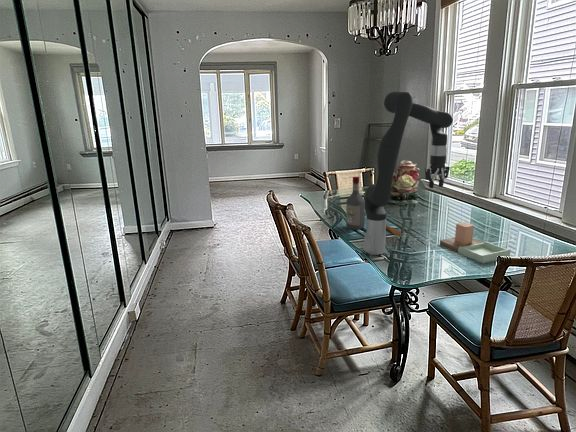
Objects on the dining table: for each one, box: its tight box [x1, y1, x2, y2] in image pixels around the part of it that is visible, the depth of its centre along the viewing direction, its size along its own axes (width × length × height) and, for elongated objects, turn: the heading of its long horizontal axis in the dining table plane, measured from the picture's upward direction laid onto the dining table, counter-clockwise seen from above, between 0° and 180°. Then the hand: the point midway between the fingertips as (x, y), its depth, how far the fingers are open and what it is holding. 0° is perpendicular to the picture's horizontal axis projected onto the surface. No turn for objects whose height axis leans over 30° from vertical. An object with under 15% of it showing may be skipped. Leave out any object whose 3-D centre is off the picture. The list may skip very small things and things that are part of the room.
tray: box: [457, 240, 511, 265], centre depth 177 cm, size 16×15×4 cm
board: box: [439, 236, 484, 254], centre depth 189 cm, size 16×12×2 cm
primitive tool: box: [386, 224, 404, 237], centre depth 216 cm, size 19×6×4 cm, turn 22°
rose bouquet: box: [387, 159, 422, 206], centre depth 276 cm, size 26×29×30 cm
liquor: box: [345, 176, 366, 231], centre depth 220 cm, size 9×9×30 cm
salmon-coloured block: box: [454, 222, 475, 245], centre depth 186 cm, size 5×6×9 cm
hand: (436, 187), depth 195 cm, fingers open, 5 cm apart
